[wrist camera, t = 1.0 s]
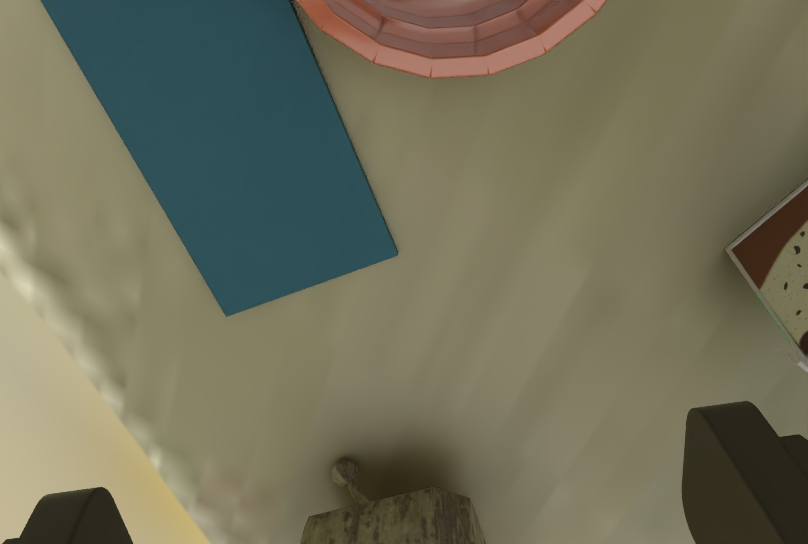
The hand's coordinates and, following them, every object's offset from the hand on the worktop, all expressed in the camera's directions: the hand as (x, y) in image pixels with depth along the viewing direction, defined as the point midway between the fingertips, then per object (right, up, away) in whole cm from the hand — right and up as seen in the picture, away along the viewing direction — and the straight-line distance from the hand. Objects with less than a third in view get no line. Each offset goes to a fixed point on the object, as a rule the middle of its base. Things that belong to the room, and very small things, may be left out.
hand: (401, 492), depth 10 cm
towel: (-8, +10, +25) cm, 28 cm away
